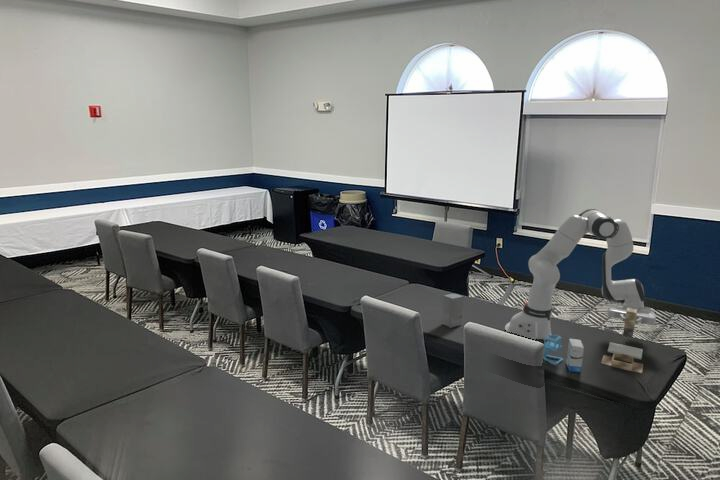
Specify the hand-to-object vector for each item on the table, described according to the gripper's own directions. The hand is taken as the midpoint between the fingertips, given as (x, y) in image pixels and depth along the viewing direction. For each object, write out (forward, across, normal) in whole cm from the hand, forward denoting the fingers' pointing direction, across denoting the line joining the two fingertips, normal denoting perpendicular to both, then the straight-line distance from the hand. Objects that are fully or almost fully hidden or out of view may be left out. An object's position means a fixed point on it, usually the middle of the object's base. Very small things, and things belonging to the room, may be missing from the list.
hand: (630, 321), depth 240 cm
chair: (+27, -28, +16) cm, 42 cm away
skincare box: (+14, -80, +16) cm, 83 cm away
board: (-1, 0, +16) cm, 16 cm away
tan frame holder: (+14, 0, +16) cm, 21 cm away
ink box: (+29, -18, +16) cm, 38 cm away
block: (-1, 0, +7) cm, 7 cm away
